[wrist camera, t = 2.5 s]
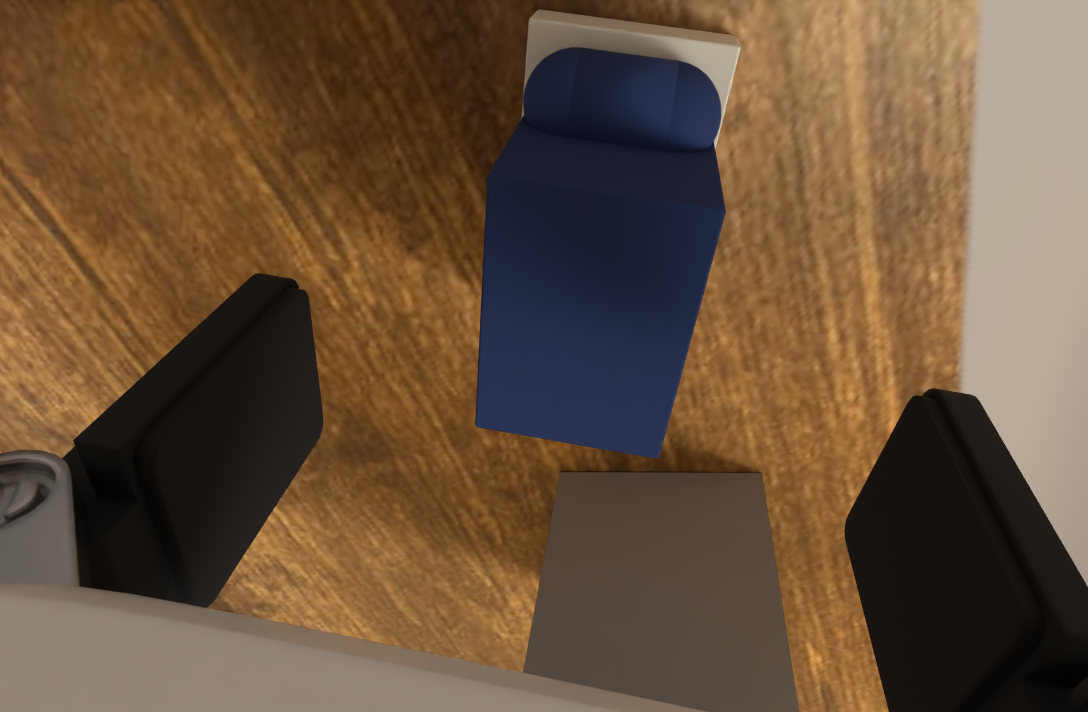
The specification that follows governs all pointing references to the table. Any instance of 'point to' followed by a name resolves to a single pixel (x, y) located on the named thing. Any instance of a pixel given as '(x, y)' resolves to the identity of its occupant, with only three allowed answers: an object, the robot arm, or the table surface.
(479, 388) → the high-top sneaker
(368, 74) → the table surface
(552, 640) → the perfume bottle
